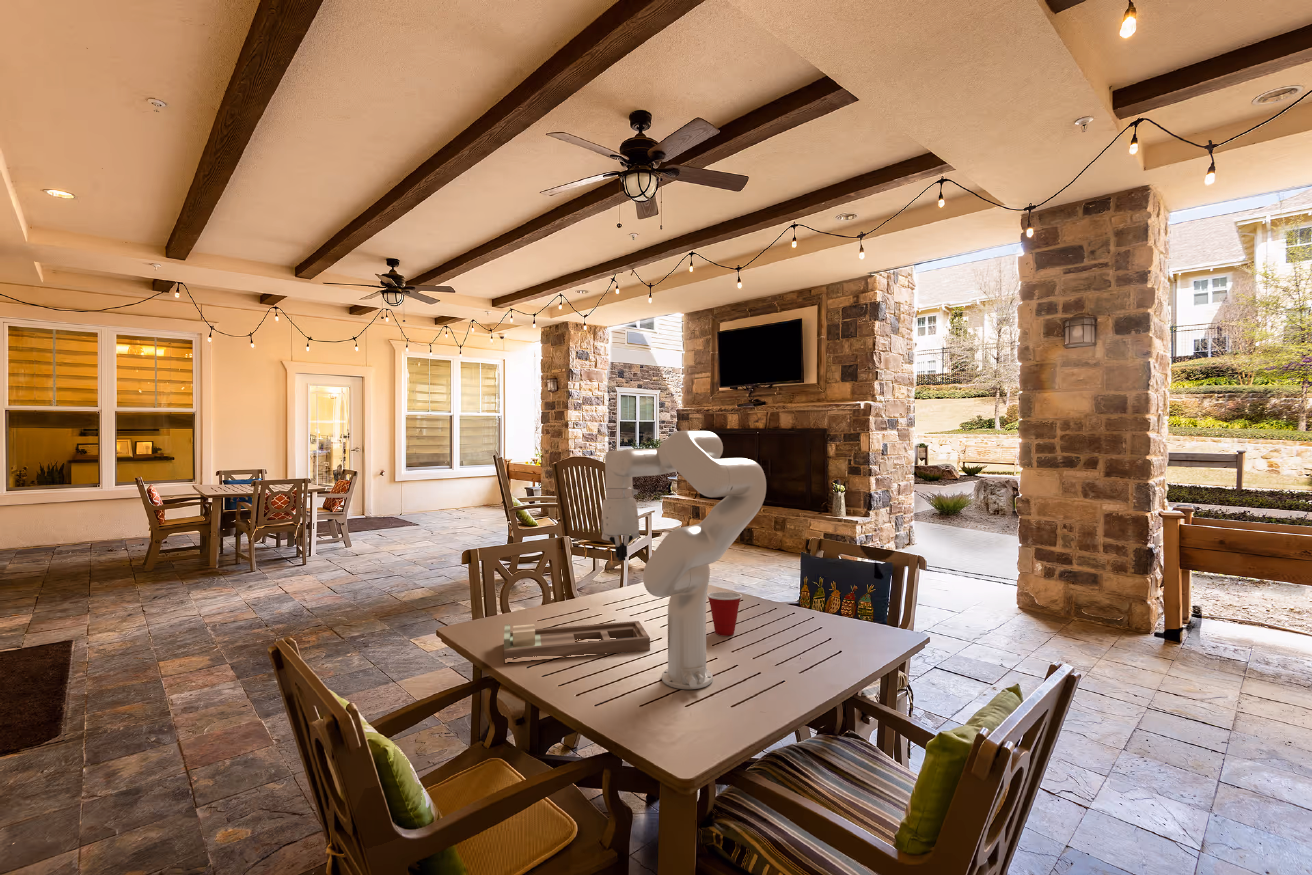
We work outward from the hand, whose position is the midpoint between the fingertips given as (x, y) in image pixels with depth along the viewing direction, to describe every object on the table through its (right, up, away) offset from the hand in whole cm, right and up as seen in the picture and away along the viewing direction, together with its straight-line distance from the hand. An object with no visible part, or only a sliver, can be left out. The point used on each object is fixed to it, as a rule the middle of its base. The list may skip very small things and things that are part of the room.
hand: (621, 559), depth 166 cm
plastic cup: (+31, -26, +16) cm, 43 cm away
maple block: (-28, -24, +1) cm, 36 cm away
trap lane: (-13, -26, +4) cm, 30 cm away
